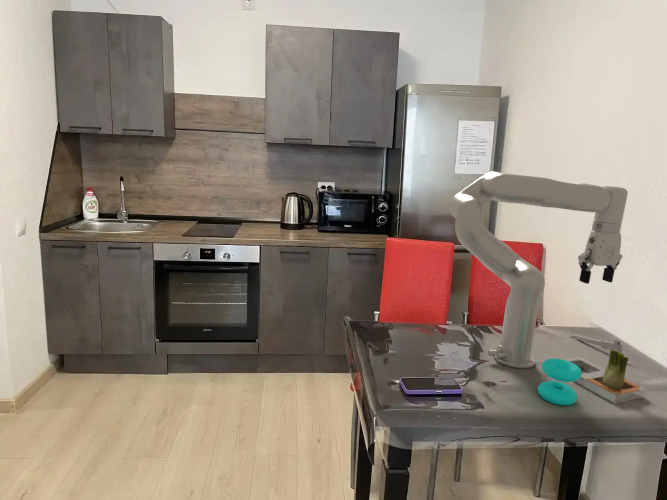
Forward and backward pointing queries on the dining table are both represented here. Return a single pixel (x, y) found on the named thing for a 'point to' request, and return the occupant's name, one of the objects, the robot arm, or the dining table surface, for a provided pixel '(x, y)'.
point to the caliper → (600, 343)
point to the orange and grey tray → (595, 385)
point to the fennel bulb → (615, 370)
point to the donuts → (555, 389)
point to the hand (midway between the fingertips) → (595, 281)
